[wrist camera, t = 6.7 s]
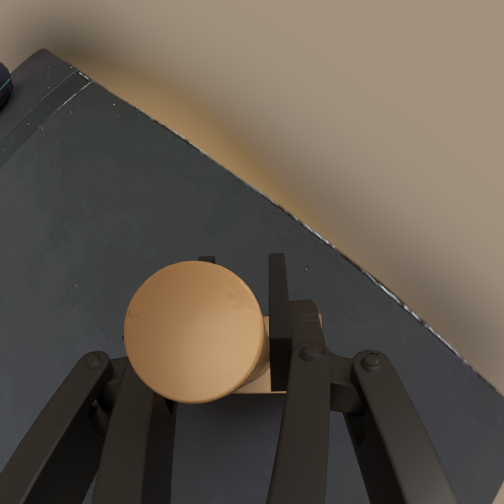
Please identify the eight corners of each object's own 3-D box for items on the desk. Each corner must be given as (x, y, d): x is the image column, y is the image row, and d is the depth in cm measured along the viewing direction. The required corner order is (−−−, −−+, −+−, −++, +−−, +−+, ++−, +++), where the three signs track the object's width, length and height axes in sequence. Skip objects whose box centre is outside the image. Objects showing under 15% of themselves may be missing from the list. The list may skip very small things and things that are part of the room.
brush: (313, 323, 21) (393, 215, 6) (315, 386, 20) (413, 430, 5) (192, 326, 22) (41, 235, 7) (192, 387, 20) (24, 408, 5)
